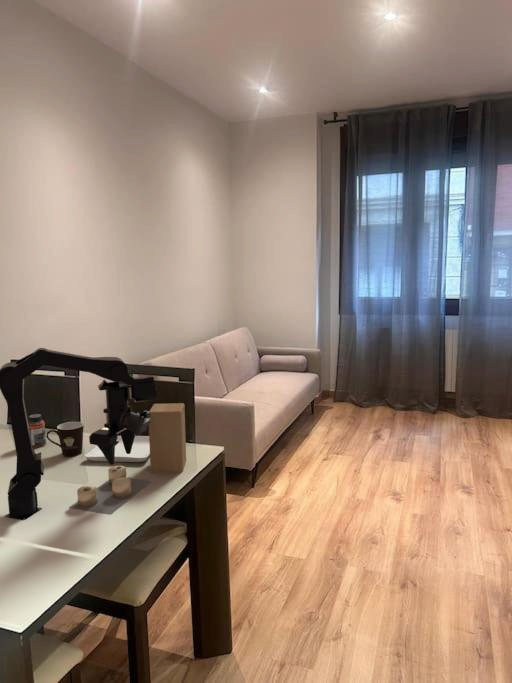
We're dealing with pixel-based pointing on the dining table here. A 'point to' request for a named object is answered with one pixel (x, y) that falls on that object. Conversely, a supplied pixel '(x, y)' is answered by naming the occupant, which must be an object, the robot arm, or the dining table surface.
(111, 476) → the two dot puck
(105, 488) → the mat
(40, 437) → the supplement bottle
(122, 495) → the plain puck
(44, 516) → the dining table surface
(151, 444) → the wooden block
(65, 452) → the coffee mug
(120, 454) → the salad plate
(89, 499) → the one dot puck
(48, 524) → the dining table surface
